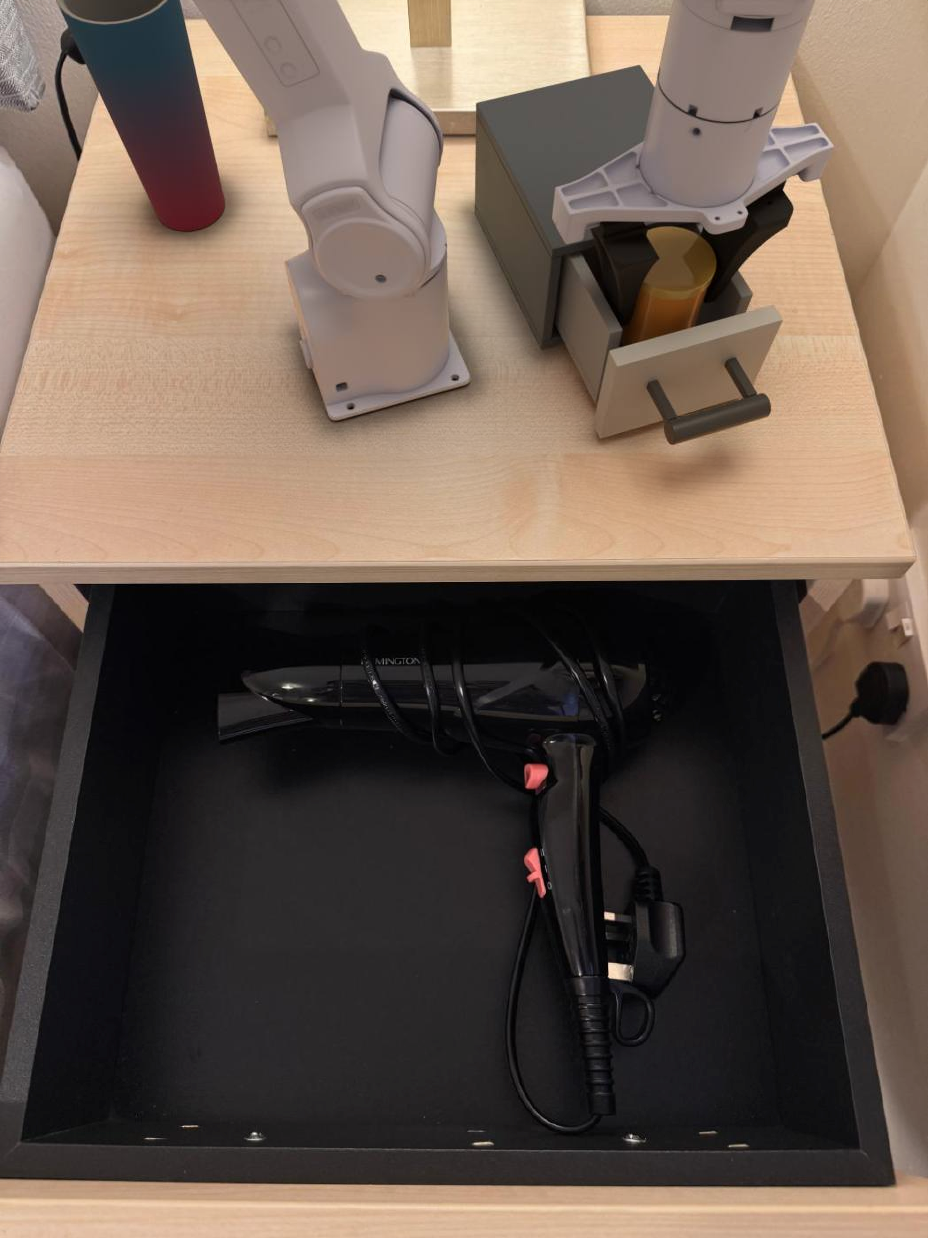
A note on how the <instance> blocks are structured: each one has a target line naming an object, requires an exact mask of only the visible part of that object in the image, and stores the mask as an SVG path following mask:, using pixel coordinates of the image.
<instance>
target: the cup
mask: <svg viewBox="0 0 928 1238" xmlns="http://www.w3.org/2000/svg"><path fill="white" fill-rule="evenodd" d="M55 2H56V4H57V6H58V8H59V10H60V12H61V14H62V15H61V16H62V17H63V19H64V21H65V23H66V26H67V27H68V29H69V32H70V33H71V36H72V38H73V40H74V42H75V44H76V47H77V49H78V51H79V53H80V55H81V58H82V59H83V61H84V64H85V66H86V68H87V70H88V72H89V74H90V76H91V79H92V81H93V83H94V86H95V87H96V89H97V91H98V94H99V95H100V97H101V100H102V102H103V105H104V106H105V108H106V111H107V113H108V115H109V117H110V119H111V121H112V124H113V125H114V127H115V130H116V132H117V134H118V136H119V138H120V140H121V142H122V144H123V147H124V149H125V151H126V154H127V156H128V158H129V159H130V162H131V163H132V167H133V168H134V170H135V172H136V174H137V177H138V178H139V181H140V183H141V186H142V187H143V189H144V192H145V193H146V196H147V198H148V199H149V202H150V204H151V206H152V209H153V211H154V213H155V216H156V217H157V219H158V220H159V221H160V222H161V223H162V224H163V225H164V226H165V227H167V228H170V229H172V230H175V231H182V232H191V231H192V232H193V231H198V230H201V229H203V228H207V227H208V226H210V225H212V224H213V223H214V222H216V221H217V220H218V219H219V218H220V216H222V214H223V212H224V211H225V206H226V199H225V195H224V190H223V186H222V180H221V177H220V172H219V168H218V167H219V166H218V164H217V163H218V162H217V159H216V155H215V150H214V145H213V142H212V137H211V132H210V128H209V122H208V119H207V114H206V110H205V109H206V108H205V105H204V100H203V97H202V96H203V95H202V92H201V87H200V83H199V78H198V74H197V69H196V65H195V60H194V56H193V52H192V47H191V42H190V39H189V33H188V30H187V25H186V20H185V15H184V11H183V6H182V2H181V0H56V1H55Z"/></svg>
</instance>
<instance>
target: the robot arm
mask: <svg viewBox="0 0 928 1238" xmlns="http://www.w3.org/2000/svg"><path fill="white" fill-rule="evenodd" d="M192 1H193V3H194V5H195V6H196V8H197V9H198V11H199V13H200V14H201V15H202V17H203V18H204V20H205V21H206V23H207V24H208V26H209V27H210V29H211V31H212V32H213V34H214V36H215V37H216V38H217V41H219V43H220V44H221V46H222V47H223V49H224V51H225V52H226V54H227V56H228V57H229V58H230V59H231V61H232V63H233V65H234V66H235V67H236V69H237V70H238V72H239V73H240V75H241V76H242V78H243V80H244V81H245V83H246V84H247V86H248V87H249V89H250V90H251V91H252V93H253V95H254V96H255V98H256V100H257V101H258V103H259V104H260V105H261V107H262V109H263V110H264V111H265V114H266V115H267V116H268V118H269V119H270V121H271V123H273V125H274V128H275V133H276V136H277V141H278V147H279V152H280V158H281V164H282V170H283V176H284V182H285V187H286V193H287V198H288V201H289V205H290V206H291V208H292V209H293V211H294V212H295V214H296V215H297V216H298V218H299V219H300V221H301V223H302V225H303V227H304V229H305V232H306V236H307V245H308V246H307V247H308V249H306V250H304V251H303V252H300V253H299V254H296V255H293V256H292V257H289V258H288V259H286V260H284V267H285V273H286V277H287V280H288V285H289V289H290V294H291V299H292V301H293V302H292V303H293V306H294V310H295V313H296V319H297V322H298V327H299V334H300V337H301V339H300V340H299V344H300V347H301V351H302V355H303V358H304V361H305V365H306V367H307V369H309V370H311V369H312V372H313V374H314V378H315V381H316V384H317V387H318V389H319V392H320V396H321V398H322V401H323V403H324V407H325V409H326V412H327V415H328V418H329V419H330V420H332V421H340V420H343V419H347V418H351V417H354V416H359V415H363V414H367V413H369V412H372V411H377V410H380V409H384V408H387V407H391V406H394V405H398V404H402V403H406V402H409V401H413V400H415V399H416V400H417V399H420V398H423V397H427V396H430V395H435V394H438V393H441V392H445V391H448V390H452V389H456V388H459V387H462V386H467V385H468V384H469V383H470V381H471V374H470V372H469V369H468V367H467V364H466V362H465V359H464V358H463V355H462V353H461V350H460V349H459V346H458V343H457V341H456V339H455V336H454V335H453V332H452V330H451V328H450V321H449V320H450V316H449V277H448V276H449V275H448V272H449V271H448V238H447V237H448V236H447V231H446V228H445V226H444V223H443V222H442V220H441V218H440V216H439V214H438V213H437V211H436V209H435V199H436V190H437V181H438V180H437V179H438V171H439V168H440V167H441V162H442V156H443V153H444V144H445V143H444V134H443V131H442V127H441V125H440V122H439V120H438V118H437V116H436V115H435V113H434V112H433V110H432V108H430V106H429V105H427V103H426V102H425V101H423V100H422V99H421V98H420V97H419V96H417V94H415V93H413V92H412V91H411V90H410V89H409V88H408V87H407V86H406V85H405V84H404V83H403V82H402V80H401V79H400V78H399V76H398V75H397V73H396V71H395V69H394V67H393V65H392V62H391V61H390V59H389V57H388V56H387V55H386V54H384V53H382V52H378V51H373V50H368V49H364V48H362V46H361V44H360V42H359V40H358V38H357V35H355V32H354V31H353V28H352V26H351V25H350V22H349V21H348V18H347V17H346V15H345V12H344V11H343V9H342V6H341V5H340V3H339V1H338V0H192ZM815 3H816V0H672V3H671V8H670V13H669V18H668V22H667V27H666V33H665V37H664V41H663V47H662V51H661V57H660V61H659V66H658V71H657V76H656V80H655V85H654V87H655V90H654V95H653V99H652V104H651V109H650V114H649V118H648V123H647V128H646V133H645V138H644V141H643V142H641V143H640V144H638V145H636V146H635V147H633V148H631V149H630V150H628V151H626V152H625V153H623V154H622V155H620V156H618V157H617V158H615V159H613V160H612V161H610V162H608V163H607V164H605V165H603V166H602V167H600V168H598V169H597V170H595V171H593V172H592V173H590V174H588V175H586V176H585V177H583V178H581V179H579V180H576V181H574V182H571V183H568V184H565V185H562V186H558V187H556V188H555V196H554V205H553V214H552V220H553V221H554V223H555V225H556V228H557V230H558V231H559V233H560V235H561V236H562V238H563V240H564V242H565V244H570V243H574V242H578V241H581V240H583V239H584V236H585V230H586V229H590V230H591V233H592V236H593V239H594V242H595V245H596V248H597V251H598V255H599V259H600V264H601V269H602V275H603V283H604V296H605V298H606V300H607V302H608V304H609V306H610V307H611V309H612V311H613V313H614V315H615V317H616V319H617V320H618V322H619V324H620V326H625V325H628V324H629V322H630V320H631V318H632V316H633V313H634V310H635V306H636V302H637V298H638V294H639V291H640V288H641V286H642V284H643V282H644V280H645V278H646V276H647V274H648V272H649V271H650V269H651V268H652V266H653V265H654V264H655V263H656V262H657V261H658V260H659V259H660V258H659V256H658V254H657V253H656V251H655V249H654V248H653V246H652V244H651V242H650V241H649V239H648V237H647V231H648V226H646V225H645V223H644V222H698V223H701V224H702V225H703V228H702V232H701V237H702V238H703V239H705V240H706V241H707V242H708V243H709V244H710V246H711V247H712V249H713V251H714V253H715V256H716V261H717V266H716V271H715V273H714V276H713V279H712V282H711V283H710V285H709V286H708V289H707V292H706V295H705V298H704V302H705V303H709V302H712V301H715V299H716V298H717V297H718V296H719V294H720V293H721V292H722V290H723V289H724V288H725V286H726V285H727V284H728V282H729V281H730V280H731V278H732V277H733V276H734V274H735V273H736V272H737V271H738V270H739V269H740V268H741V267H742V266H743V265H744V264H745V262H746V261H748V259H749V258H750V257H751V256H752V255H753V254H754V253H755V252H756V251H757V250H758V249H759V248H760V247H762V246H763V245H764V244H765V243H766V242H767V241H769V240H770V239H771V238H772V237H774V236H775V235H777V234H778V233H780V232H781V231H783V230H784V229H786V228H787V227H788V226H789V224H790V221H791V219H792V216H793V213H794V210H795V209H794V204H793V202H792V201H791V199H790V198H789V197H788V195H787V194H786V192H785V191H784V188H785V186H786V183H787V181H788V179H790V178H791V177H795V176H798V178H799V180H801V181H802V182H804V183H809V182H814V181H817V180H820V179H822V177H823V175H824V172H825V170H826V167H827V165H828V163H829V160H830V158H831V155H832V153H833V151H834V149H835V145H834V144H833V142H831V140H830V138H829V137H828V136H827V135H826V133H825V132H824V131H823V129H822V128H821V127H820V125H819V124H818V123H817V122H816V121H815V122H810V123H805V124H797V125H790V126H789V125H784V126H782V125H781V126H780V125H779V126H773V123H774V121H775V118H776V115H777V112H778V109H779V106H780V103H781V101H782V97H783V95H784V91H785V89H786V87H787V83H788V80H789V78H790V75H791V71H792V70H793V66H794V63H795V60H796V57H797V54H798V51H799V48H800V45H801V42H802V39H803V37H804V34H805V31H806V28H807V25H808V22H809V20H810V17H811V14H812V11H813V7H814V6H815ZM453 379H454V380H453ZM455 379H456V380H455ZM350 408H352V409H350Z"/></svg>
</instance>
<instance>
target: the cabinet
mask: <svg viewBox="0 0 928 1238" xmlns="http://www.w3.org/2000/svg"><path fill="white" fill-rule="evenodd" d="M654 90H655V85H654V84H653V82H652V81H651V79H650V78H649V76H648V75H647V73H646V71H645V70H644V69H643V67H642V66H641V65H640V64H637V65H633V66H628V67H624V68H623V67H622V68H620V69H615V70H610V71H607V72H602V73H598V74H593V75H589V76H585V77H581V78H577V79H573V80H568V81H564V82H558V83H555V84H550V85H546V86H543V87H538V88H534V89H530V90H525V91H521V92H516V93H513V94H508V95H504V96H500V97H495V98H491V99H487V100H482V101H478V102H476V103H475V153H474V154H475V158H474V159H475V162H474V163H475V164H474V214H475V216H476V218H477V220H478V222H479V224H480V226H481V228H482V230H483V232H484V235H485V236H486V238H487V241H488V242H489V245H490V246H491V249H492V251H493V253H494V256H495V257H496V259H497V261H498V263H499V265H500V268H501V270H502V271H503V273H504V275H505V277H506V280H507V282H508V284H509V286H510V288H511V290H512V292H513V294H514V296H515V298H516V300H517V302H518V305H519V307H520V308H521V310H522V313H523V315H524V317H525V319H526V321H527V323H528V325H529V327H530V330H531V331H532V333H533V336H534V338H535V340H536V342H537V343H538V346H539V348H540V349H541V350H543V349H547V348H552V347H555V346H558V345H562V344H565V343H564V341H563V339H562V337H561V335H560V333H559V331H558V329H557V327H556V325H555V323H554V314H555V307H556V299H557V291H558V283H559V275H560V268H561V260H562V255H566V254H570V253H573V252H577V251H581V250H585V249H589V248H593V247H596V245H595V242H594V239H593V236H592V233H591V230H590V229H586V230H585V236H584V239H583V240H581V241H578V242H574V243H570V244H565V242H564V240H563V238H562V236H561V235H560V233H559V231H558V230H557V228H556V225H555V223H554V221H553V220H552V214H553V205H554V196H555V188H556V187H558V186H562V185H565V184H568V183H571V182H574V181H576V180H579V179H581V178H583V177H585V176H586V175H588V174H590V173H592V172H593V171H595V170H597V169H598V168H600V167H602V166H603V165H605V164H607V163H608V162H610V161H612V160H613V159H615V158H617V157H618V156H620V155H622V154H623V153H625V152H626V151H628V150H630V149H631V148H633V147H635V146H636V145H638V144H640V143H641V142H643V141H644V138H645V133H646V128H647V123H648V118H649V114H650V109H651V104H652V99H653V95H654ZM644 223H645V225H646V226H648V230H650V229H653V228H658V227H673V226H677V225H681V224H684V223H688V222H644Z"/></svg>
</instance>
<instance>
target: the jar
mask: <svg viewBox="0 0 928 1238" xmlns="http://www.w3.org/2000/svg"><path fill="white" fill-rule="evenodd" d="M647 237H648V239H649V241H650V242H651V244H652V246H653V248H654V249H655V251H656V253H657V254H658V256H659V258H660V259H659V260H658V261H657V262H656V263H655V264H654V265H653V266H652V268H651V269H650V271H649V272H648V274H647V276H646V278H645V280H644V282H643V284H642V286H641V288H640V291H639V294H638V298H637V302H636V306H635V310H634V313H633V316H632V318H631V320H630V322H629V324H628V325H625V326H621V328H622V330H623V331H622V335H621V339H620V342H621V343H622V344H623V345H624V346H627V345H631V344H635V343H638V342H642V341H645V340H649V339H653V338H656V337H660V336H663V335H667V334H670V333H674V332H678V331H681V330H685V329H688V328H692V327H695V325H696V322H697V319H698V316H699V313H700V310H701V307H702V304H703V301H704V298H705V295H706V292H707V289H708V286H709V285H710V283H711V282H712V279H713V276H714V273H715V271H716V266H717V261H716V256H715V253H714V251H713V249H712V247H711V246H710V244H709V243H708V242H707V241H706V240H705V239H703V238H702V237H701V236H699V235H698V234H696V233H694V232H692V231H689V230H687V229H683V228H678V227H658V228H653V229H650V230H648V231H647Z"/></svg>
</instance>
